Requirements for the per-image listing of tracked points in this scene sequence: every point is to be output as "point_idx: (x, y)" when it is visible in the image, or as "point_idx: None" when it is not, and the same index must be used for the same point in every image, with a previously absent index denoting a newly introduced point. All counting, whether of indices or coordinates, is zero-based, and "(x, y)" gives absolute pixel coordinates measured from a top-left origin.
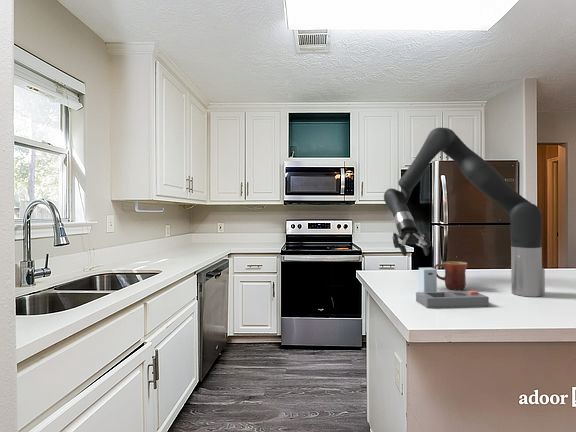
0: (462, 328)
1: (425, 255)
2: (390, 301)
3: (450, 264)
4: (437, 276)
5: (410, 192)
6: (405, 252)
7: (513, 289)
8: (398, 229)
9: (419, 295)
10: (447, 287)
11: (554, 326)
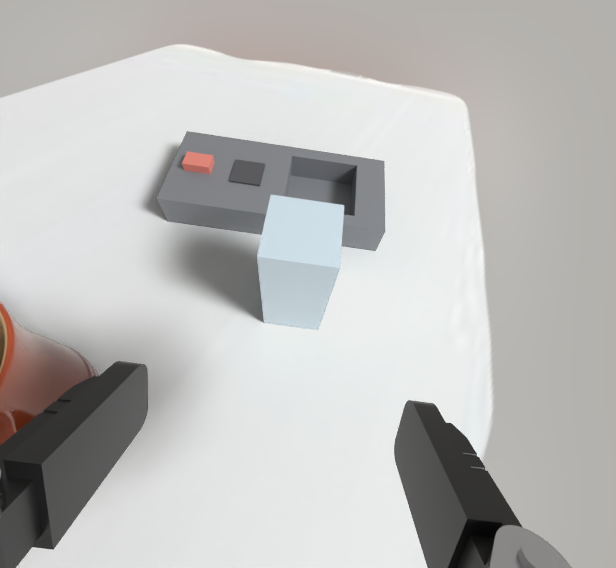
0: (371, 80)
1: (143, 421)
2: (464, 267)
3: (11, 320)
4: None
5: None
6: (431, 404)
7: None
8: None
9: (383, 208)
10: None
11: (199, 51)
